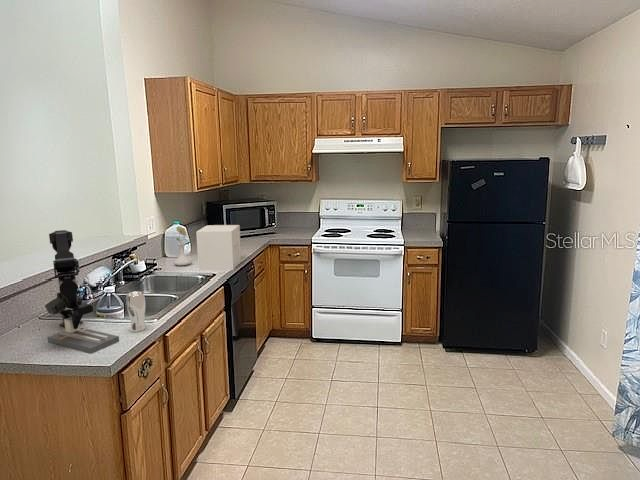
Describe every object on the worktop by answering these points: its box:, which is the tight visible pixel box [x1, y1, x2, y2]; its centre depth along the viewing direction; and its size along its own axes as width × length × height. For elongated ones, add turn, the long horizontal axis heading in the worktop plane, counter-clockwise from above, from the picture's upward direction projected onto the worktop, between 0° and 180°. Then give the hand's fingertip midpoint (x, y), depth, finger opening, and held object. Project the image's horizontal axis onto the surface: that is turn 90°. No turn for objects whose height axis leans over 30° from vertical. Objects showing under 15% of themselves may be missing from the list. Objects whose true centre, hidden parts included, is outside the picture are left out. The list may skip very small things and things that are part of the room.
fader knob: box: [64, 317, 81, 333], centre depth 175 cm, size 3×4×6 cm
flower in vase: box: [173, 225, 193, 266], centre depth 292 cm, size 13×11×25 cm
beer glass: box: [126, 291, 147, 333], centre depth 184 cm, size 7×7×15 cm
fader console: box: [47, 326, 120, 354], centre depth 173 cm, size 24×12×3 cm, turn 64°
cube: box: [195, 224, 242, 271], centre depth 289 cm, size 25×21×24 cm
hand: (72, 328), depth 175 cm, fingers closed on fader knob, 3 cm apart
